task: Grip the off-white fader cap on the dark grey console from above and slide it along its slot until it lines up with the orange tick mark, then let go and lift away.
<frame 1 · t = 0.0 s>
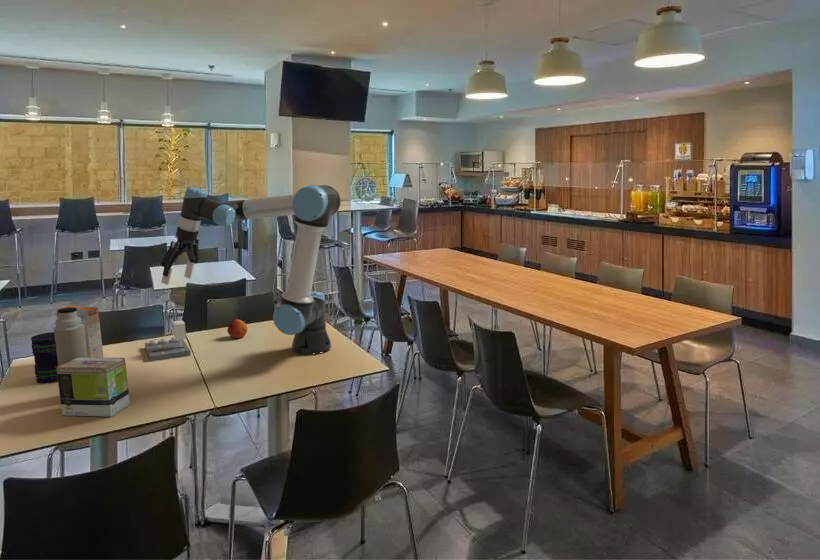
hand: (176, 280, 219), 28 cm above the table, tool tilted 20°, fingers open, 13 cm apart
cracker box: (83, 363, 210), on the table
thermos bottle: (77, 397, 177), on the table
fruit: (237, 338, 242), on the table
console: (167, 351, 223), on the table
fader: (179, 334, 221), point 7 cm above the table, slide at 0.0 cm
black striped canister: (53, 379, 194), on the table
tea box: (96, 410, 167), on the table
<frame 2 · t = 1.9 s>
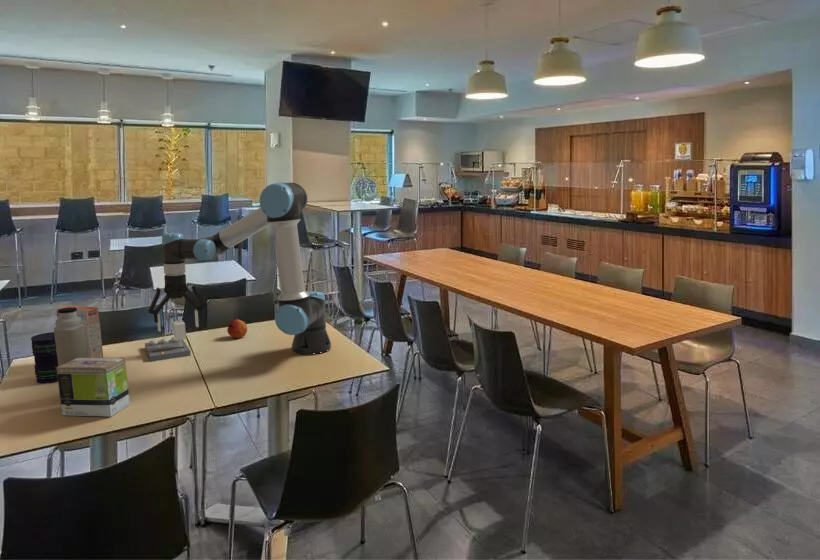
hand: (178, 328, 220), 10 cm above the table, tool pointing down, fingers open, 13 cm apart
nothing on the table moved.
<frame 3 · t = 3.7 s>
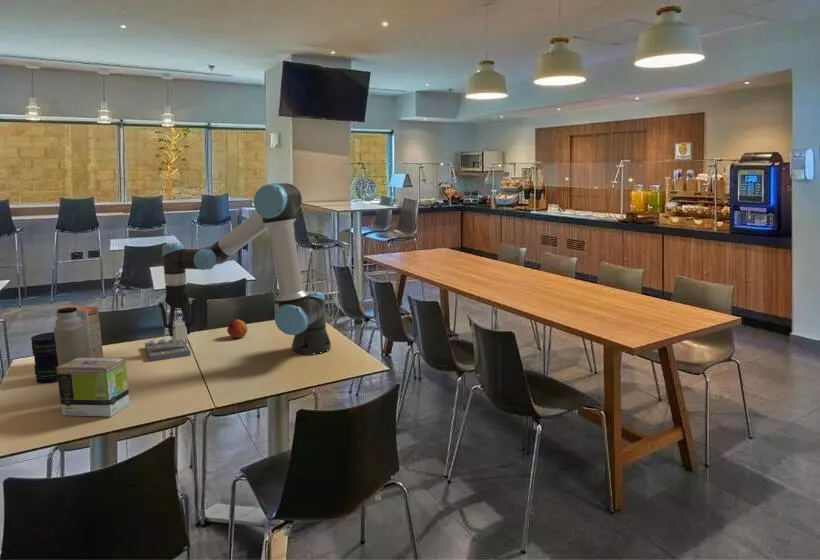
hand: (180, 343, 221), 4 cm above the table, tool pointing down, fingers closed on fader, 3 cm apart
fader: (179, 334, 221), point 7 cm above the table, slide at 0.0 cm, touching gripper
everything else where it was.
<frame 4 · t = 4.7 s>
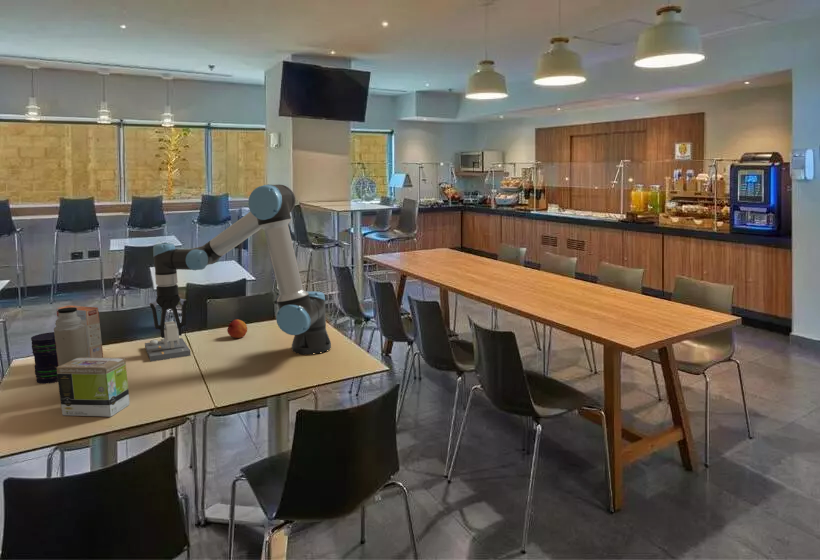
hand: (172, 344, 220), 4 cm above the table, tool pointing down, fingers closed on fader, 3 cm apart
fader: (171, 335, 219), point 7 cm above the table, slide at 3.1 cm, touching gripper
everything else where it was.
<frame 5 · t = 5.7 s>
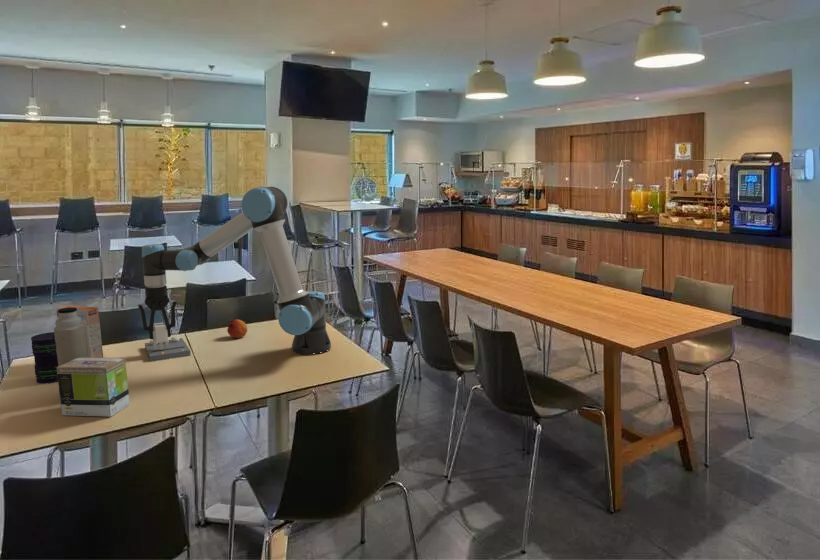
hand: (161, 346, 218), 4 cm above the table, tool pointing down, fingers closed on fader, 3 cm apart
fader: (160, 337, 217), point 7 cm above the table, slide at 7.0 cm, touching gripper
everything else where it was.
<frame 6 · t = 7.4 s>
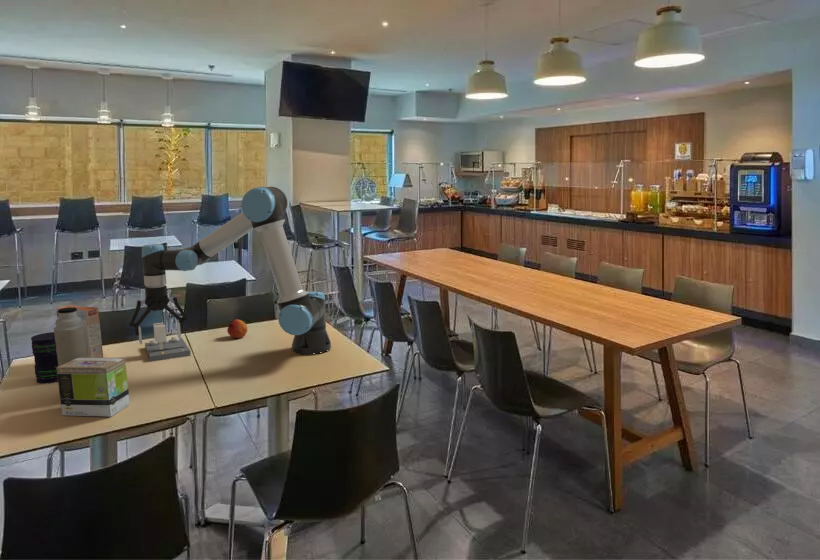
hand: (160, 340, 217), 6 cm above the table, tool pointing down, fingers open, 13 cm apart
fader: (160, 337, 217), point 7 cm above the table, slide at 7.0 cm
everything else where it was.
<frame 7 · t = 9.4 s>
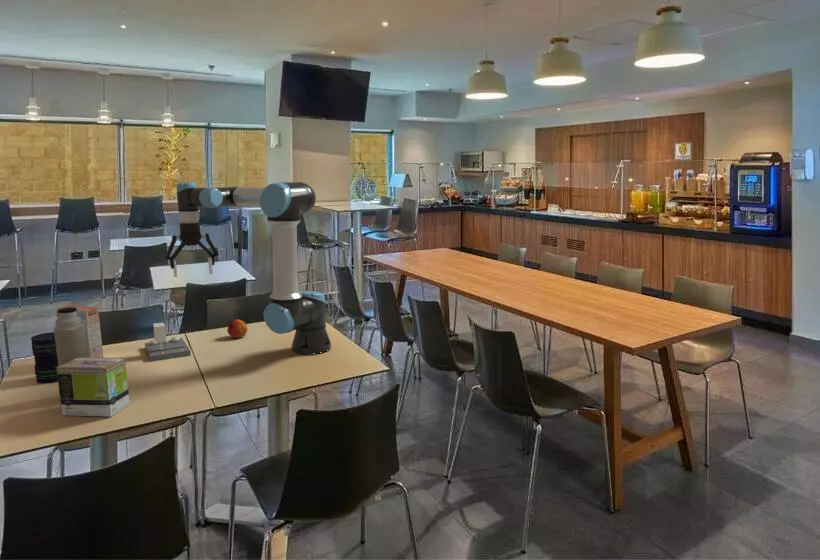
hand: (193, 275, 231), 28 cm above the table, tool pointing down, fingers open, 13 cm apart
nothing on the table moved.
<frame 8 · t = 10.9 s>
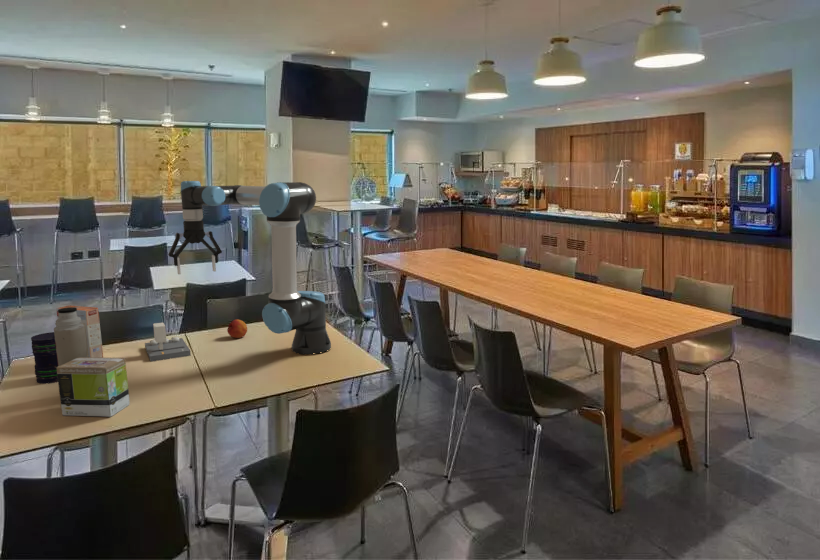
hand: (197, 272, 233), 29 cm above the table, tool pointing down, fingers open, 13 cm apart
nothing on the table moved.
at the end: fader slide at 7.0 cm; the gripper is holding nothing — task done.
